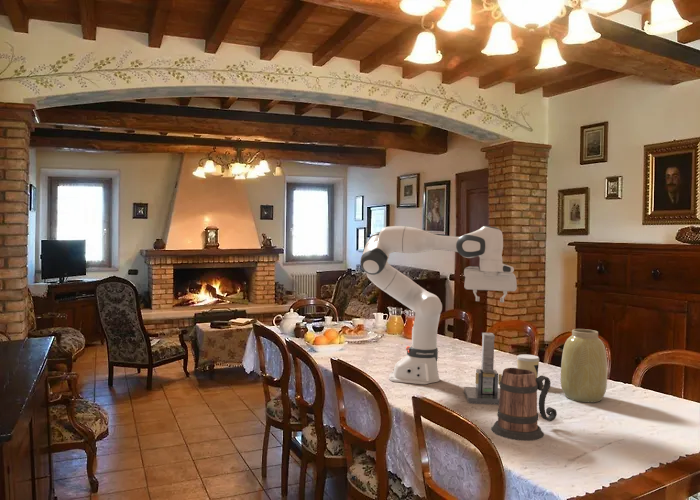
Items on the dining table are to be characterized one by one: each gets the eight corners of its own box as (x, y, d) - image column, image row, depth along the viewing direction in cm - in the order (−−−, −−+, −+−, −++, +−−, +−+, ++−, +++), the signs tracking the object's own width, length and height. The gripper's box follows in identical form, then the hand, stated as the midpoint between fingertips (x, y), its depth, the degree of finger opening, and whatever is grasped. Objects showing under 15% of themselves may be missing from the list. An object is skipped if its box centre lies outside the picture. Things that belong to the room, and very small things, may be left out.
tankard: (511, 443, 175) (513, 379, 175) (480, 425, 191) (482, 366, 191) (572, 435, 183) (573, 374, 183) (537, 418, 199) (539, 362, 199)
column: (482, 394, 221) (484, 335, 220) (480, 389, 227) (482, 332, 226) (493, 394, 220) (494, 335, 219) (490, 390, 226) (492, 332, 225)
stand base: (468, 403, 216) (469, 375, 216) (464, 391, 232) (464, 365, 232) (511, 405, 215) (511, 377, 214) (503, 393, 231) (504, 367, 230)
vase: (604, 394, 232) (606, 329, 231) (608, 406, 216) (611, 336, 215) (559, 389, 238) (561, 326, 237) (560, 401, 221) (562, 332, 221)
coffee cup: (539, 387, 241) (540, 359, 240) (517, 385, 243) (517, 358, 242) (537, 381, 250) (537, 354, 250) (515, 380, 252) (516, 353, 251)
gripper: (464, 266, 223) (463, 301, 223) (517, 268, 219) (516, 303, 219) (464, 265, 229) (462, 299, 229) (516, 267, 225) (515, 302, 226)
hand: (489, 301), depth 224 cm, fingers open, 8 cm apart
